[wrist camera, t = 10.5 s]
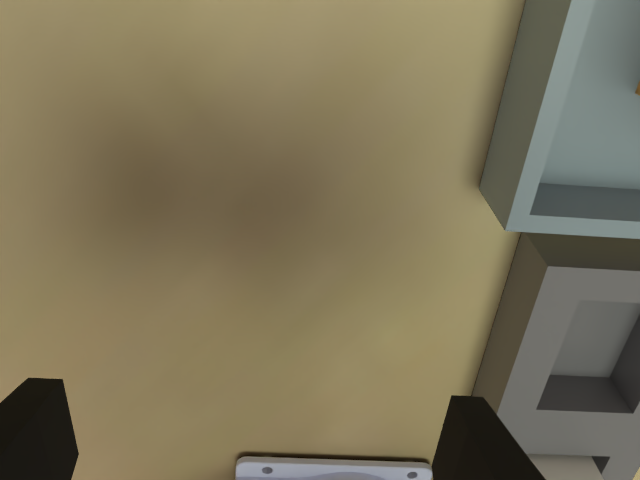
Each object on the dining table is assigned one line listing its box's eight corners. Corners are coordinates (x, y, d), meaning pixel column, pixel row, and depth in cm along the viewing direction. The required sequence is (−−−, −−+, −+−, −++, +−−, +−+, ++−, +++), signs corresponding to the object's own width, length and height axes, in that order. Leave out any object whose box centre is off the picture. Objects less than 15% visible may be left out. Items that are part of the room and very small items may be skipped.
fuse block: (440, 497, 29) (451, 544, 26) (522, 229, 20) (548, 266, 18) (571, 501, 29) (592, 548, 27) (702, 240, 21) (748, 277, 19)
